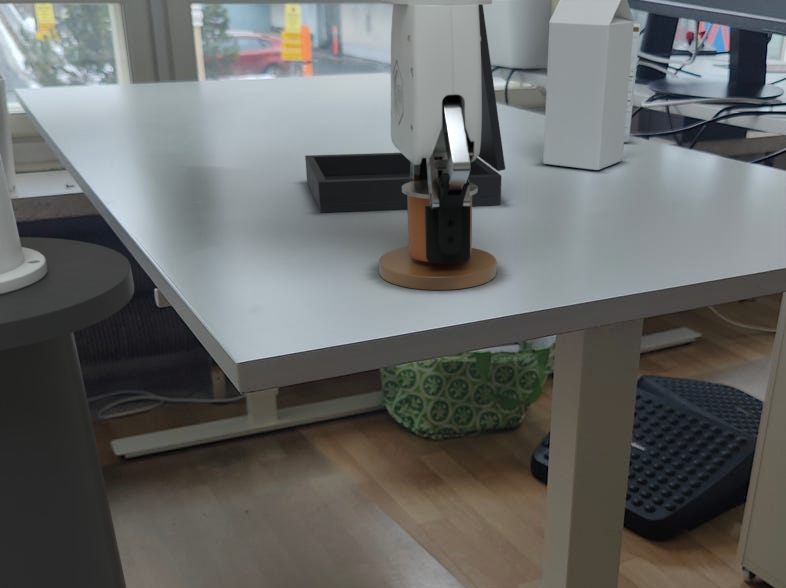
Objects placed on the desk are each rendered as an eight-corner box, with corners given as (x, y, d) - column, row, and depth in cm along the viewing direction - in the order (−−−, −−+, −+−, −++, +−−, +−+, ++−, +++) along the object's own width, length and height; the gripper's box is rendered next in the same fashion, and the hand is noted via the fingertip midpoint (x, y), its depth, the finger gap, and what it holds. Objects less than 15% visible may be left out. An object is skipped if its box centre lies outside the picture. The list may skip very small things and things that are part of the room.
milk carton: (598, 171, 109) (612, -19, 99) (542, 165, 112) (550, -20, 102) (622, 162, 114) (638, -20, 104) (568, 156, 117) (578, -21, 107)
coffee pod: (410, 266, 70) (409, 196, 67) (397, 246, 75) (395, 180, 72) (484, 262, 71) (485, 193, 69) (467, 243, 76) (467, 177, 73)
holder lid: (466, -46, 82) (475, -48, 82) (434, -47, 94) (442, -48, 94) (497, 171, 92) (505, 169, 92) (464, 146, 103) (472, 145, 103)
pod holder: (320, 212, 90) (318, 182, 88) (307, 183, 101) (305, 155, 100) (500, 204, 94) (501, 175, 92) (468, 177, 105) (468, 150, 104)
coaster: (390, 293, 69) (389, 280, 68) (371, 259, 76) (370, 247, 76) (510, 286, 71) (510, 272, 70) (480, 253, 78) (480, 241, 78)
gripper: (362, -25, 70) (373, 226, 79) (403, -18, 56) (411, 287, 65) (461, -24, 72) (461, 221, 81) (526, -18, 57) (518, 280, 66)
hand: (439, 248), depth 73 cm, fingers closed on coffee pod, 5 cm apart
